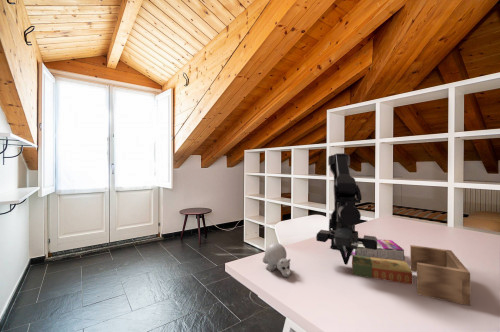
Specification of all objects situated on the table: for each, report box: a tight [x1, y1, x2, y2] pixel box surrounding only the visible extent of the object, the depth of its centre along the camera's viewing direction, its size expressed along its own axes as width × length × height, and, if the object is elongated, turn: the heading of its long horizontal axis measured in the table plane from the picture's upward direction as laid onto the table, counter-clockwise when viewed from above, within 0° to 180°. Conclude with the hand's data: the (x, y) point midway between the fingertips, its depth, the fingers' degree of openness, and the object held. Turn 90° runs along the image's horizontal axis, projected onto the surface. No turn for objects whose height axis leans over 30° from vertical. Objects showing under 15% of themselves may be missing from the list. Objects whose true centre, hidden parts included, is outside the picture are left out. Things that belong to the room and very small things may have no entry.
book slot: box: [409, 244, 471, 307], centre depth 68 cm, size 10×18×8 cm, turn 151°
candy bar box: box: [351, 239, 405, 261], centre depth 90 cm, size 11×5×16 cm
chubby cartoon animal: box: [262, 242, 291, 278], centre depth 76 cm, size 7×12×8 cm, turn 24°
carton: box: [351, 254, 413, 285], centre depth 75 cm, size 8×16×4 cm, turn 67°
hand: (346, 264), depth 79 cm, fingers closed
